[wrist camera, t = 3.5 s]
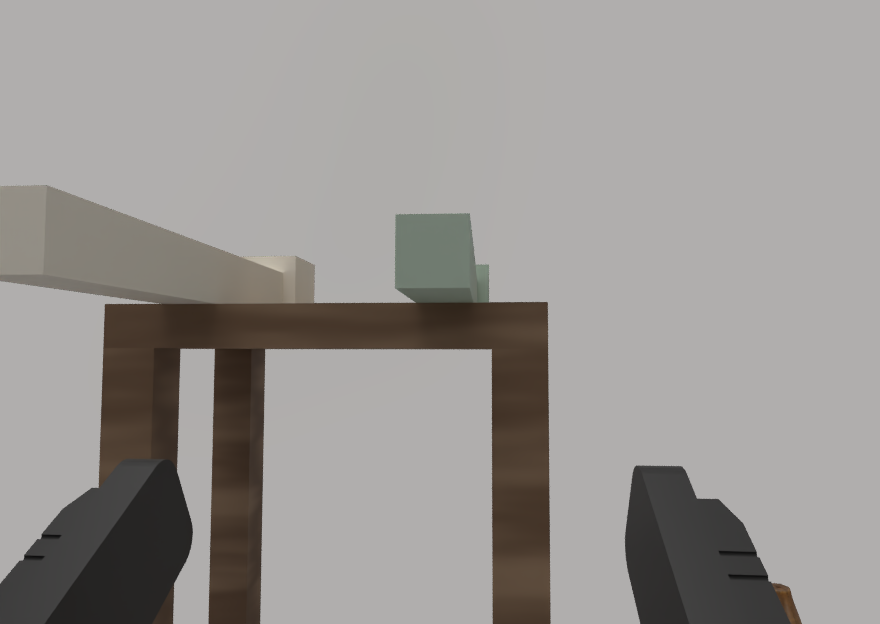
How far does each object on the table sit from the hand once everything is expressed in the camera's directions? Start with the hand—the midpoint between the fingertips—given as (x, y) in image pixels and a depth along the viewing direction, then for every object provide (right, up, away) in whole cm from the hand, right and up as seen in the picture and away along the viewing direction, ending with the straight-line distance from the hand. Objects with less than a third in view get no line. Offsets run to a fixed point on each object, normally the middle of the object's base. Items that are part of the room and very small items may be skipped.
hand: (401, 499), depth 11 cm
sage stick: (+1, +3, +22) cm, 22 cm away
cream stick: (-11, +4, +18) cm, 22 cm away
